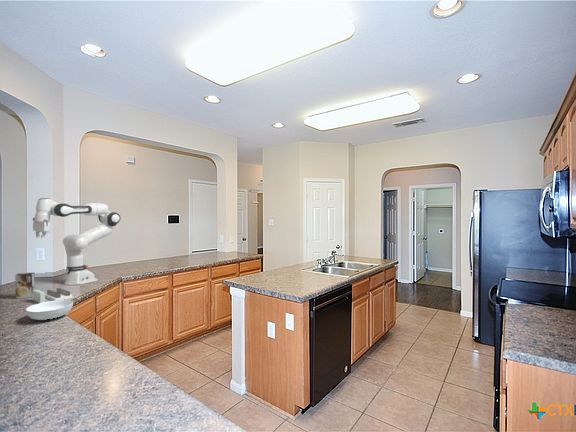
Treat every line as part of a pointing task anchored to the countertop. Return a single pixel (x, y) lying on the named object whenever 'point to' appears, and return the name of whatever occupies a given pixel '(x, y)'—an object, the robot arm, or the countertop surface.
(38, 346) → the countertop surface
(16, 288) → the coffee box
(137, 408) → the countertop surface
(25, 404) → the countertop surface
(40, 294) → the door panel
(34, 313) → the serving bowl
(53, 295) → the floor track
